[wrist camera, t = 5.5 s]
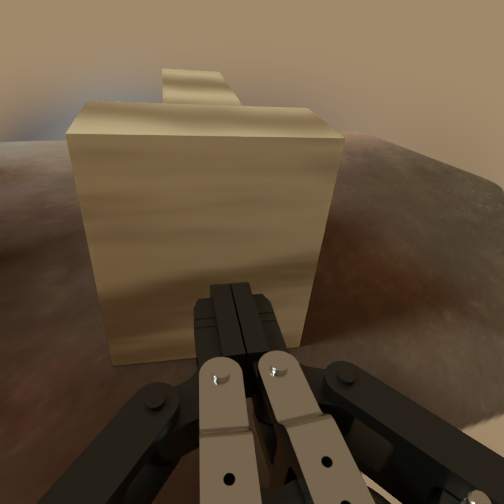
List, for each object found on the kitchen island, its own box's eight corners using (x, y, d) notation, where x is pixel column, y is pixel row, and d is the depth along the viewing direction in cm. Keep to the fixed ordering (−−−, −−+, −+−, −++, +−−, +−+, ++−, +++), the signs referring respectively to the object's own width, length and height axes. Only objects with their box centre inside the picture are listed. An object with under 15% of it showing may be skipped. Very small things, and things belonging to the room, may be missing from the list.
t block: (299, 346, 23) (344, 138, 16) (112, 366, 21) (65, 133, 14) (251, 224, 35) (265, 74, 28) (129, 228, 33) (110, 65, 26)
